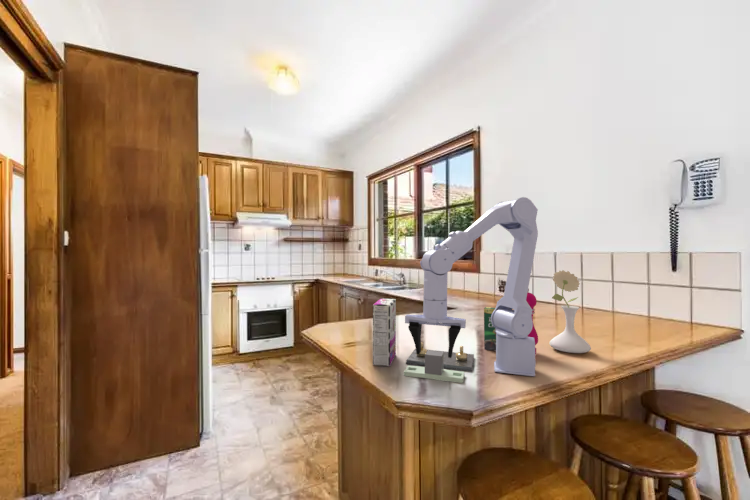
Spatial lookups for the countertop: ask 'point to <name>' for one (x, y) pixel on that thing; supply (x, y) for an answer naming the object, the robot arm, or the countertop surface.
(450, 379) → the board
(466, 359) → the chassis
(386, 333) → the candy bar box
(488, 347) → the coffee box
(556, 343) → the flower in vase
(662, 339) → the countertop surface
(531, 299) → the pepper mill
